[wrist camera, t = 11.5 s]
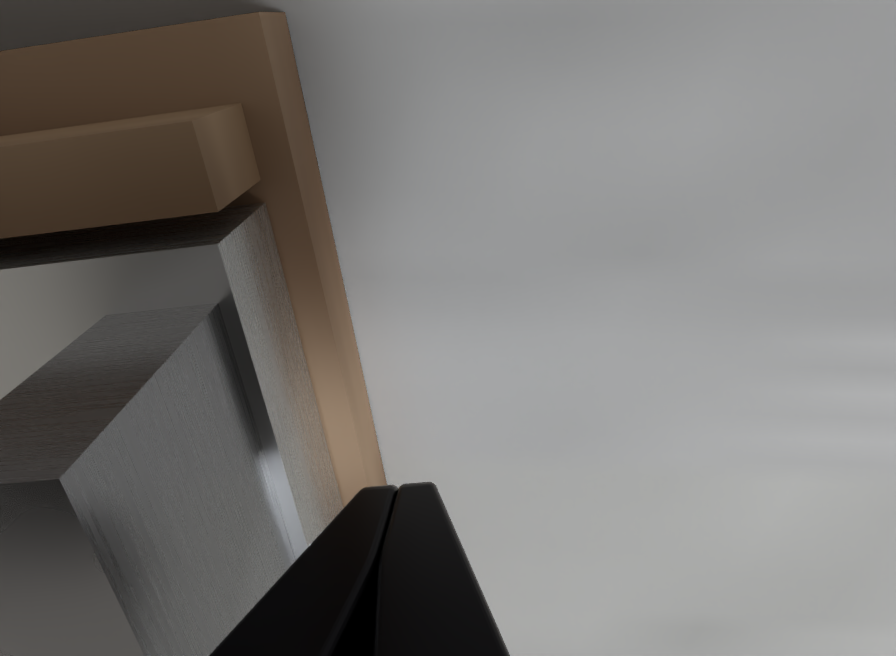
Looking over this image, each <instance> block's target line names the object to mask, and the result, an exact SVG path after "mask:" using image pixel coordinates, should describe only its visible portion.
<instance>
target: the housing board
mask: <svg viewBox="0 0 896 656" xmlns="http://www.w3.org/2000/svg"><path fill="white" fill-rule="evenodd" d="M257 203H265V204H266V207H267V211H268V215H269V219H270V223H271V227H272V231H273V235H274V239H275V243H276V246H277V250H278V254H279V258H280V262H281V266H282V270H283V274H284V278H285V282H286V285H287V289H288V293H289V297H290V301H291V305H292V309H293V313H294V317H295V321H296V324H297V328H298V332H299V336H300V340H301V344H302V348H303V352H304V356H305V360H306V363H307V367H308V371H309V375H310V379H311V383H312V387H313V391H314V395H315V399H316V403H317V406H318V410H319V414H320V418H321V422H322V426H323V430H324V434H325V438H326V442H327V445H328V449H329V453H330V457H331V461H332V465H333V469H334V473H335V477H336V481H337V484H338V488H339V492H340V496H341V500H342V504H343V508H344V507H345V506H346V505H347V504H348V502H349V501H350V500H351V499H352V498H353V497H354V496H355V495H356V494H357V493H358V492H359V491H360V490H361V489H362V488H364V487H370V486H383V485H387V483H386V478H385V474H384V469H383V464H382V460H381V455H380V450H379V446H378V441H377V437H376V432H375V427H374V423H373V418H372V413H371V409H370V404H369V399H368V395H367V390H366V386H365V381H364V376H363V372H362V367H361V362H360V358H359V353H358V348H357V344H356V339H355V335H354V330H353V325H352V321H351V316H350V311H349V307H348V302H347V297H346V293H345V288H344V284H343V279H342V274H341V270H340V265H339V260H338V256H337V251H336V246H335V242H334V237H333V233H332V228H331V223H330V219H329V214H328V209H327V205H326V200H325V195H324V191H323V186H322V182H321V177H320V172H319V168H318V163H317V158H316V154H315V149H314V145H313V140H312V135H311V131H310V126H309V121H308V117H307V112H306V107H305V103H304V98H303V94H302V89H301V84H300V80H299V75H298V70H297V66H296V61H295V56H294V52H293V47H292V43H291V38H290V33H289V29H288V24H287V19H286V15H285V12H254V13H247V14H241V15H234V16H228V17H221V18H214V19H208V20H201V21H195V22H188V23H182V24H175V25H168V26H162V27H155V28H149V29H142V30H135V31H129V32H122V33H116V34H109V35H103V36H96V37H89V38H83V39H76V40H70V41H63V42H56V43H50V44H43V45H37V46H30V47H24V48H17V49H10V50H4V51H0V239H2V238H10V237H18V236H26V235H34V234H43V233H51V232H59V231H67V230H75V229H83V228H91V227H100V226H108V225H116V224H124V223H132V222H140V221H148V220H157V219H165V218H173V217H181V216H189V215H197V214H205V213H214V212H219V211H220V210H222V209H223V208H224V207H233V206H241V205H249V204H257Z"/></svg>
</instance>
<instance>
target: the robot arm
mask: <svg viewBox="0 0 896 656" xmlns="http://www.w3.org/2000/svg"><path fill="white" fill-rule="evenodd" d="M209 656H510V655H509V652H508V650H507V648H506V645H505V643H504V641H503V638H502V636H501V634H500V632H499V629H498V627H497V625H496V622H495V620H494V618H493V616H492V613H491V611H490V609H489V606H488V604H487V602H486V600H485V597H484V595H483V593H482V590H481V588H480V586H479V584H478V581H477V579H476V577H475V574H474V572H473V570H472V567H471V565H470V563H469V561H468V558H467V556H466V554H465V551H464V549H463V547H462V545H461V542H460V540H459V538H458V535H457V533H456V531H455V529H454V526H453V524H452V522H451V519H450V517H449V515H448V512H447V510H446V508H445V506H444V503H443V501H442V499H441V496H440V494H439V492H438V490H437V487H436V485H435V484H434V483H432V482H422V483H409V484H403V485H401V486H400V487H399V489H398V488H397V487H396V486H395V485H383V486H370V487H364V488H362V489H361V490H360V491H359V492H358V493H357V494H356V495H355V496H354V497H353V498H352V499H351V500H350V501H349V502H348V504H347V505H346V506H345V507H344V508H343V509H342V510H341V511H340V512H339V513H338V515H337V516H336V517H335V518H334V519H333V520H332V521H331V522H330V523H329V524H328V526H327V527H326V528H325V529H324V530H323V531H322V532H321V533H320V534H319V535H318V536H317V538H316V539H315V540H314V541H313V542H312V543H311V544H310V545H309V546H308V547H307V549H306V550H305V551H304V552H303V553H302V554H301V555H300V556H299V557H298V558H297V559H296V561H295V562H294V563H293V564H292V565H291V566H290V567H289V568H288V569H287V570H286V572H285V573H284V574H283V575H282V576H281V577H280V578H279V579H278V580H277V581H276V583H275V584H274V585H273V586H272V587H271V588H270V589H269V590H268V591H267V592H266V593H265V595H264V596H263V597H262V598H261V599H260V600H259V601H258V602H257V603H256V604H255V606H254V607H253V608H252V609H251V610H250V611H249V612H248V613H247V614H246V615H245V616H244V618H243V619H242V620H241V621H240V622H239V623H238V624H237V625H236V626H235V627H234V629H233V630H232V631H231V632H230V633H229V634H228V635H227V636H226V637H225V638H224V640H223V641H222V642H221V643H220V644H219V645H218V646H217V647H216V648H215V649H214V650H213V652H212V653H211V654H210V655H209Z"/></svg>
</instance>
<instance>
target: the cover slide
mask: <svg viewBox="0 0 896 656" xmlns="http://www.w3.org/2000/svg"><path fill="white" fill-rule="evenodd" d="M342 509H343V504H342V500H341V496H340V492H339V488H338V484H337V481H336V477H335V473H334V469H333V465H332V461H331V457H330V453H329V449H328V445H327V442H326V438H325V434H324V430H323V426H322V422H321V418H320V414H319V410H318V406H317V403H316V399H315V395H314V391H313V387H312V383H311V379H310V375H309V371H308V367H307V363H306V360H305V356H304V352H303V348H302V344H301V340H300V336H299V332H298V328H297V324H296V321H295V317H294V313H293V309H292V305H291V301H290V297H289V293H288V289H287V285H286V282H285V278H284V274H283V270H282V266H281V262H280V258H279V254H278V250H277V246H276V243H275V239H274V235H273V231H272V227H271V223H270V219H269V215H268V211H267V207H266V204H265V203H257V204H249V205H241V206H233V207H224V208H223V209H222V210H220V211H219V212H214V213H205V214H197V215H189V216H181V217H173V218H165V219H157V220H148V221H140V222H132V223H124V224H116V225H108V226H100V227H91V228H83V229H75V230H67V231H59V232H51V233H43V234H34V235H26V236H18V237H10V238H2V239H0V656H209V655H210V654H211V653H212V652H213V650H214V649H215V648H216V647H217V646H218V645H219V644H220V643H221V642H222V641H223V640H224V638H225V637H226V636H227V635H228V634H229V633H230V632H231V631H232V630H233V629H234V627H235V626H236V625H237V624H238V623H239V622H240V621H241V620H242V619H243V618H244V616H245V615H246V614H247V613H248V612H249V611H250V610H251V609H252V608H253V607H254V606H255V604H256V603H257V602H258V601H259V600H260V599H261V598H262V597H263V596H264V595H265V593H266V592H267V591H268V590H269V589H270V588H271V587H272V586H273V585H274V584H275V583H276V581H277V580H278V579H279V578H280V577H281V576H282V575H283V574H284V573H285V572H286V570H287V569H288V568H289V567H290V566H291V565H292V564H293V563H294V562H295V561H296V559H297V558H298V557H299V556H300V555H301V554H302V553H303V552H304V551H305V550H306V549H307V547H308V546H309V545H310V544H311V543H312V542H313V541H314V540H315V539H316V538H317V536H318V535H319V534H320V533H321V532H322V531H323V530H324V529H325V528H326V527H327V526H328V524H329V523H330V522H331V521H332V520H333V519H334V518H335V517H336V516H337V515H338V513H339V512H340V511H341V510H342Z"/></svg>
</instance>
